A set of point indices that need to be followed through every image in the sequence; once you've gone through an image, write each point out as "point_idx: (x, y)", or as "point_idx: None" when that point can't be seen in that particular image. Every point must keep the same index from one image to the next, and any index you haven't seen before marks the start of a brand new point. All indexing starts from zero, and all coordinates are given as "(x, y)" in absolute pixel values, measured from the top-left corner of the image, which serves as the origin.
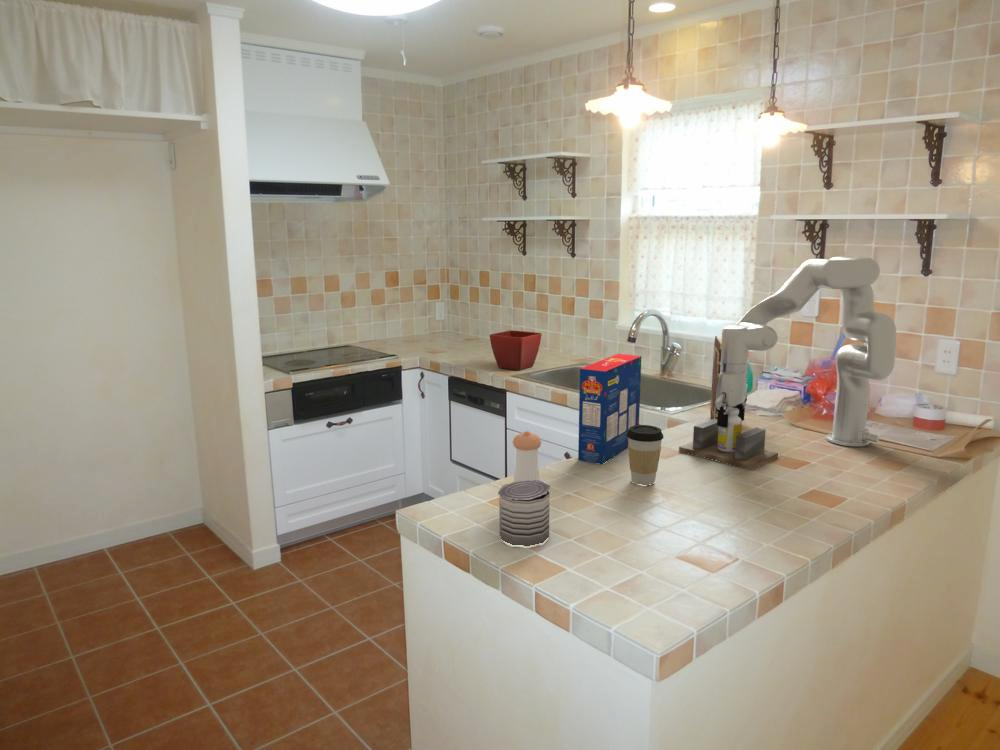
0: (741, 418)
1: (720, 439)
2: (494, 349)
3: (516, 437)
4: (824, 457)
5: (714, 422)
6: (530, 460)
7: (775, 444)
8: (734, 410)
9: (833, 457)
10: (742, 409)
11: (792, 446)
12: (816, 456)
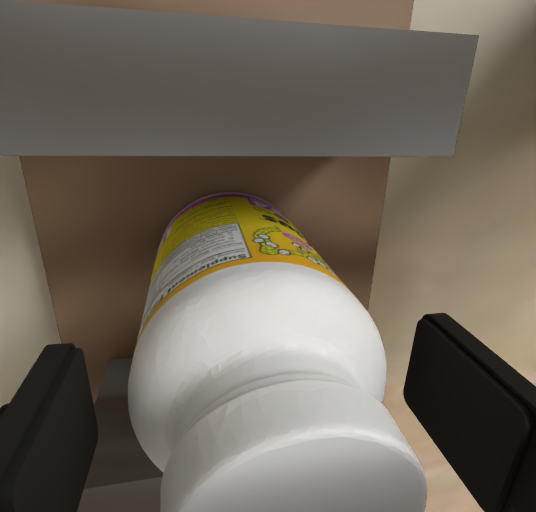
0: (416, 401)
1: (154, 267)
2: None
3: None
4: (447, 473)
5: (323, 128)
6: None
7: (520, 304)
8: None
9: (463, 485)
10: (484, 503)
11: (523, 357)
12: (444, 457)
